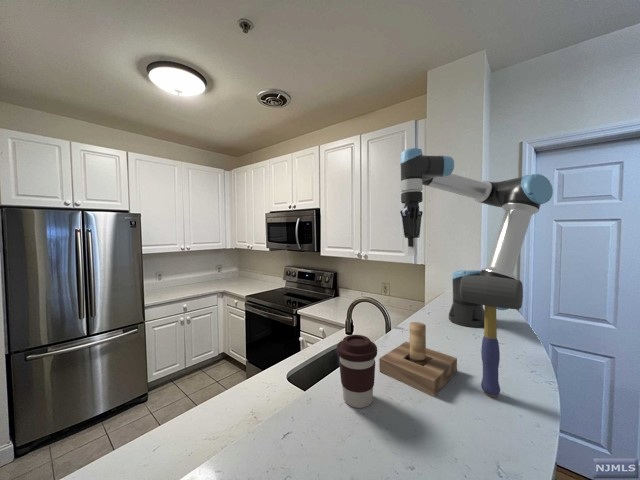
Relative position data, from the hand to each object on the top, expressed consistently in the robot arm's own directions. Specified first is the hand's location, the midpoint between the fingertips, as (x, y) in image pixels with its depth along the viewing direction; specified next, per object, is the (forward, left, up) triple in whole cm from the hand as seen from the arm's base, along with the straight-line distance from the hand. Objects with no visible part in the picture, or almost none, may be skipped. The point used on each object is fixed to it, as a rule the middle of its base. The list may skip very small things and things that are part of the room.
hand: (412, 255), depth 93 cm
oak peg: (+19, +11, -32) cm, 39 cm away
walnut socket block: (+19, +11, -32) cm, 39 cm away
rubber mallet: (+16, +28, -33) cm, 46 cm away
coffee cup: (+41, +6, -33) cm, 53 cm away
